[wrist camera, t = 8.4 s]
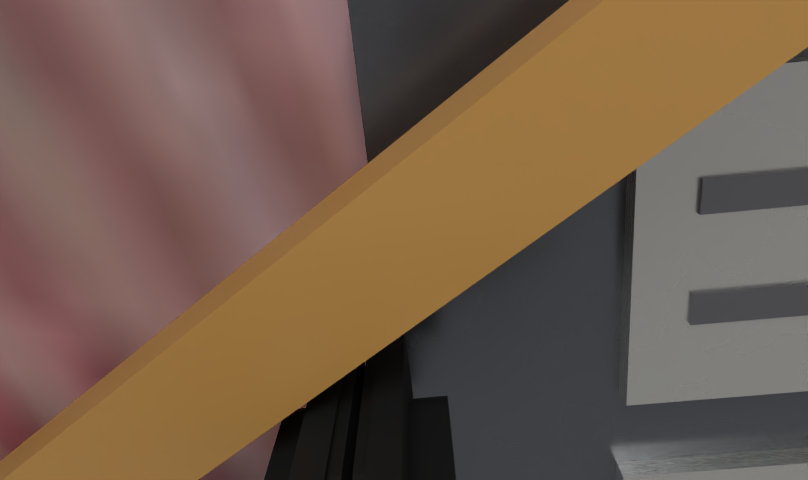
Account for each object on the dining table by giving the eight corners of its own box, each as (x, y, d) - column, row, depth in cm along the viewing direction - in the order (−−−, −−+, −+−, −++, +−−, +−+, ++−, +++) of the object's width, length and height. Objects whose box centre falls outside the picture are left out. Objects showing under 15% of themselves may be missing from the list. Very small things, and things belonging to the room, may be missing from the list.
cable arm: (1208, -240, 8) (1461, -315, 6) (12, 610, 14) (-50, 707, 12) (1126, -549, 7) (1402, -756, 5) (-131, 515, 12) (-225, 605, 11)
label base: (1268, -307, 10) (1619, -429, 7) (951, 629, 19) (1054, 748, 16) (330, -193, 11) (302, -264, 8) (434, 663, 19) (440, 783, 16)
